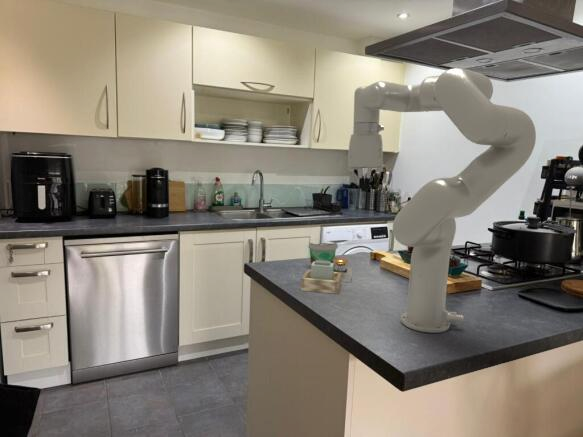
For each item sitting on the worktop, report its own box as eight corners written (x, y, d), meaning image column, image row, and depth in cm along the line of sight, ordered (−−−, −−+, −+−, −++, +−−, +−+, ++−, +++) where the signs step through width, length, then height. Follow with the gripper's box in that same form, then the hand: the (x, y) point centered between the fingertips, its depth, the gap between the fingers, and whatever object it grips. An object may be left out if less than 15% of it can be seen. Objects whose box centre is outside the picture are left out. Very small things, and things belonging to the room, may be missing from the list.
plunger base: (351, 276, 153) (352, 268, 153) (350, 282, 146) (350, 274, 145) (330, 274, 155) (330, 266, 155) (327, 280, 147) (327, 272, 147)
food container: (313, 271, 158) (314, 245, 157) (307, 267, 164) (308, 242, 162) (342, 269, 163) (343, 244, 161) (335, 265, 168) (336, 241, 167)
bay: (340, 283, 144) (341, 272, 143) (337, 293, 133) (338, 281, 133) (306, 280, 146) (307, 269, 146) (301, 290, 136) (301, 278, 135)
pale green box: (312, 281, 142) (313, 259, 141) (333, 283, 141) (334, 260, 140) (310, 285, 138) (311, 262, 136) (331, 287, 136) (332, 264, 135)
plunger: (348, 275, 152) (349, 258, 151) (347, 279, 147) (347, 261, 146) (332, 274, 154) (333, 257, 153) (331, 278, 148) (332, 260, 147)
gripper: (391, 130, 126) (389, 191, 128) (342, 131, 129) (340, 190, 131) (391, 128, 118) (389, 192, 121) (339, 129, 122) (338, 191, 124)
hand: (364, 191), depth 126 cm, fingers closed
